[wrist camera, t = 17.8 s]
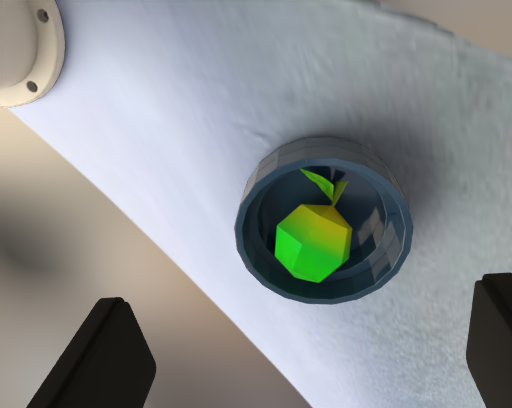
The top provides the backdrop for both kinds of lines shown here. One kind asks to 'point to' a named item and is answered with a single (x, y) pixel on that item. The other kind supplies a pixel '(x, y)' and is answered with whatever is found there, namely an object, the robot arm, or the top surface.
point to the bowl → (348, 205)
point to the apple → (314, 236)
